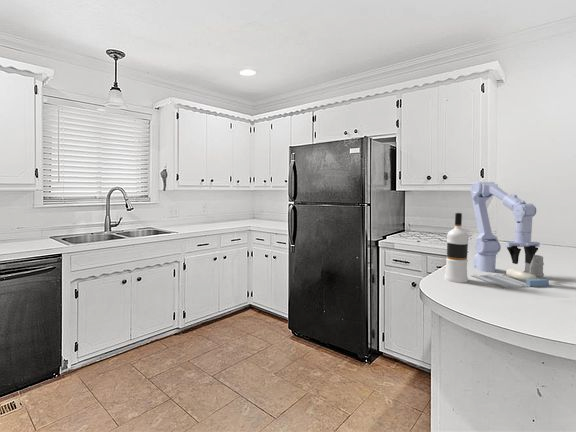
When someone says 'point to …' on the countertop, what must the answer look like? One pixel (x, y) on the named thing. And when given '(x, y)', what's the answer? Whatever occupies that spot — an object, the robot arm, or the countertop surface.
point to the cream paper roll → (519, 275)
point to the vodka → (457, 253)
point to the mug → (535, 266)
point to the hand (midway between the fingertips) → (521, 263)
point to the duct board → (512, 281)
